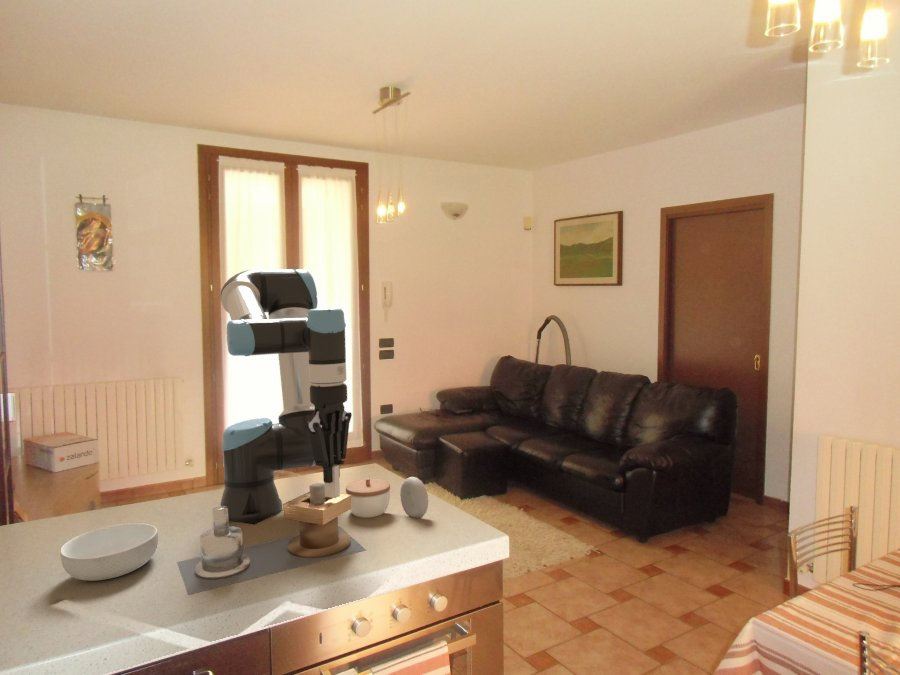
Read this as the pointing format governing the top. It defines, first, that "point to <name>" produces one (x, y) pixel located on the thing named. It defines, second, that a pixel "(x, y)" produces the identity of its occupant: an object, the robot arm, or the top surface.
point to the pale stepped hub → (221, 549)
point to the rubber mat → (258, 563)
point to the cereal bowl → (109, 551)
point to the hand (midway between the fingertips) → (332, 496)
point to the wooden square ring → (316, 509)
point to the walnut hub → (318, 533)
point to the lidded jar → (368, 497)
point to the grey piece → (414, 497)
